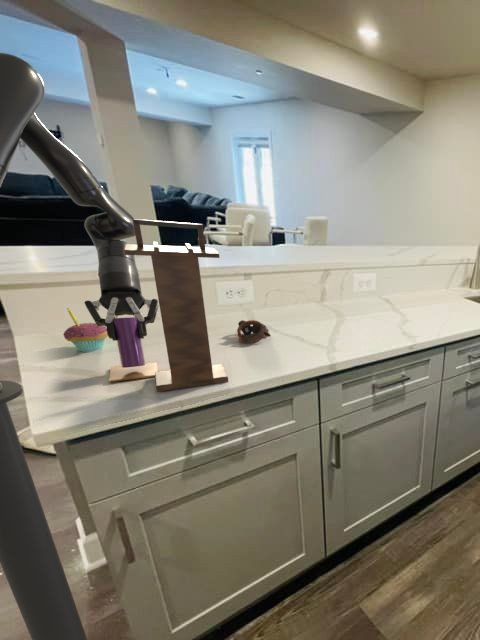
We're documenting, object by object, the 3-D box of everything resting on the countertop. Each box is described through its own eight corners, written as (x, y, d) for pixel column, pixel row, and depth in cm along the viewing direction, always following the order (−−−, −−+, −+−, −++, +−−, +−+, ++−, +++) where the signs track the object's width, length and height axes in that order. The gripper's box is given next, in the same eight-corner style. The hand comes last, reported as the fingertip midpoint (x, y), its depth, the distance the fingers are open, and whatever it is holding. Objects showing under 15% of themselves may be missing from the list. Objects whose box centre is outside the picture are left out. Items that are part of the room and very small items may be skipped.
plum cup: (113, 319, 94) (111, 318, 91) (137, 317, 97) (136, 317, 94) (122, 367, 96) (121, 368, 92) (145, 364, 98) (145, 365, 95)
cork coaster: (109, 382, 90) (108, 380, 90) (111, 368, 96) (110, 366, 96) (158, 376, 96) (158, 374, 95) (157, 363, 102) (157, 362, 102)
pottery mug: (280, 341, 128) (272, 325, 121) (256, 360, 123) (247, 344, 116) (254, 324, 130) (245, 308, 124) (230, 342, 125) (219, 326, 118)
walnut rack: (151, 392, 88) (118, 220, 75) (150, 377, 94) (120, 216, 81) (232, 381, 98) (216, 227, 85) (227, 368, 104) (211, 223, 91)
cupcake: (73, 357, 99) (58, 313, 95) (65, 347, 104) (51, 304, 99) (116, 349, 106) (104, 308, 101) (108, 340, 110) (96, 300, 106)
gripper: (157, 286, 105) (166, 342, 101) (83, 287, 96) (90, 348, 92) (154, 270, 99) (164, 328, 95) (76, 269, 90) (83, 333, 86)
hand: (128, 337), depth 93 cm, fingers closed on plum cup, 4 cm apart
